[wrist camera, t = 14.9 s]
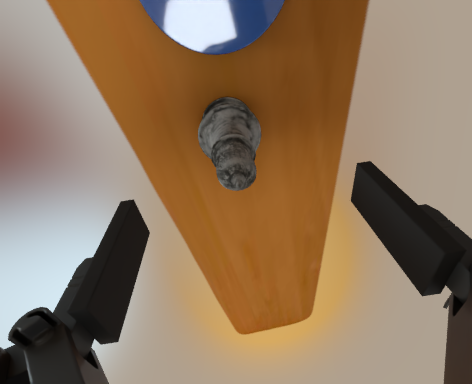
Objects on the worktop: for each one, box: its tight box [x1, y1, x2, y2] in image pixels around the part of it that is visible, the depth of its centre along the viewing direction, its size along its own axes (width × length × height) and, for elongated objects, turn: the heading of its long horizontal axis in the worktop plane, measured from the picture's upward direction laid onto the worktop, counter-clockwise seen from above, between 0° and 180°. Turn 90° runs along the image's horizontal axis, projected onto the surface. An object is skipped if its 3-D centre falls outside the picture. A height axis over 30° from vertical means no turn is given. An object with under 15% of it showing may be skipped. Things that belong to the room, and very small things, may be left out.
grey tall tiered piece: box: [198, 97, 261, 191], centre depth 21 cm, size 6×6×12 cm
